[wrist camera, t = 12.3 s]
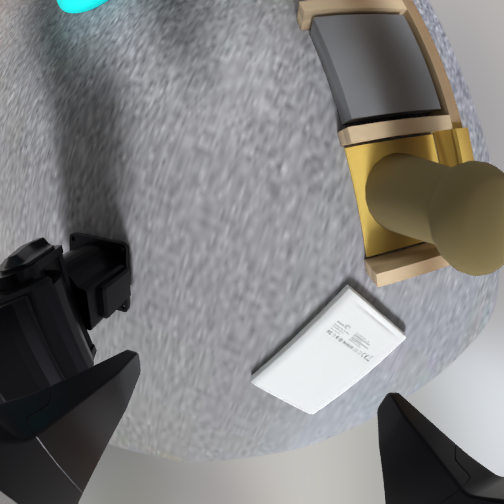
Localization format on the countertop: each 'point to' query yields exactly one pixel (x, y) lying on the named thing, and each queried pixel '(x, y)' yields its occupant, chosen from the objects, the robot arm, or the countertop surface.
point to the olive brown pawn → (442, 207)
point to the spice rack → (386, 108)
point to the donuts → (79, 5)
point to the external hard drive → (329, 353)
